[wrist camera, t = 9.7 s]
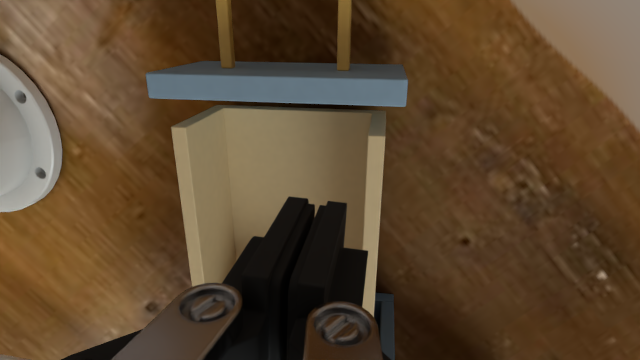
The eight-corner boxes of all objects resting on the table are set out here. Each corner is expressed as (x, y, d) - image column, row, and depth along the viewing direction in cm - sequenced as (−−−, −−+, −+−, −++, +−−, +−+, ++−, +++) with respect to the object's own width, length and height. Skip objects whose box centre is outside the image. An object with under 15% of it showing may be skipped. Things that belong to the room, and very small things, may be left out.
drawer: (192, -45, 23) (123, -68, 17) (411, -50, 21) (420, -78, 15) (226, 308, 32) (189, 374, 26) (383, 325, 30) (382, 400, 24)
